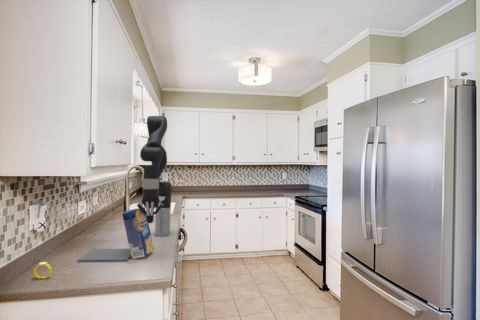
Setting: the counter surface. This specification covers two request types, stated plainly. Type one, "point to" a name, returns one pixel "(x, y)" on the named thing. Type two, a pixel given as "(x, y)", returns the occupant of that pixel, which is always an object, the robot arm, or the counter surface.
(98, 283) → the counter surface
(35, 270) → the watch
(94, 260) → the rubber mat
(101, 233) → the counter surface
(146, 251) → the beverage box
